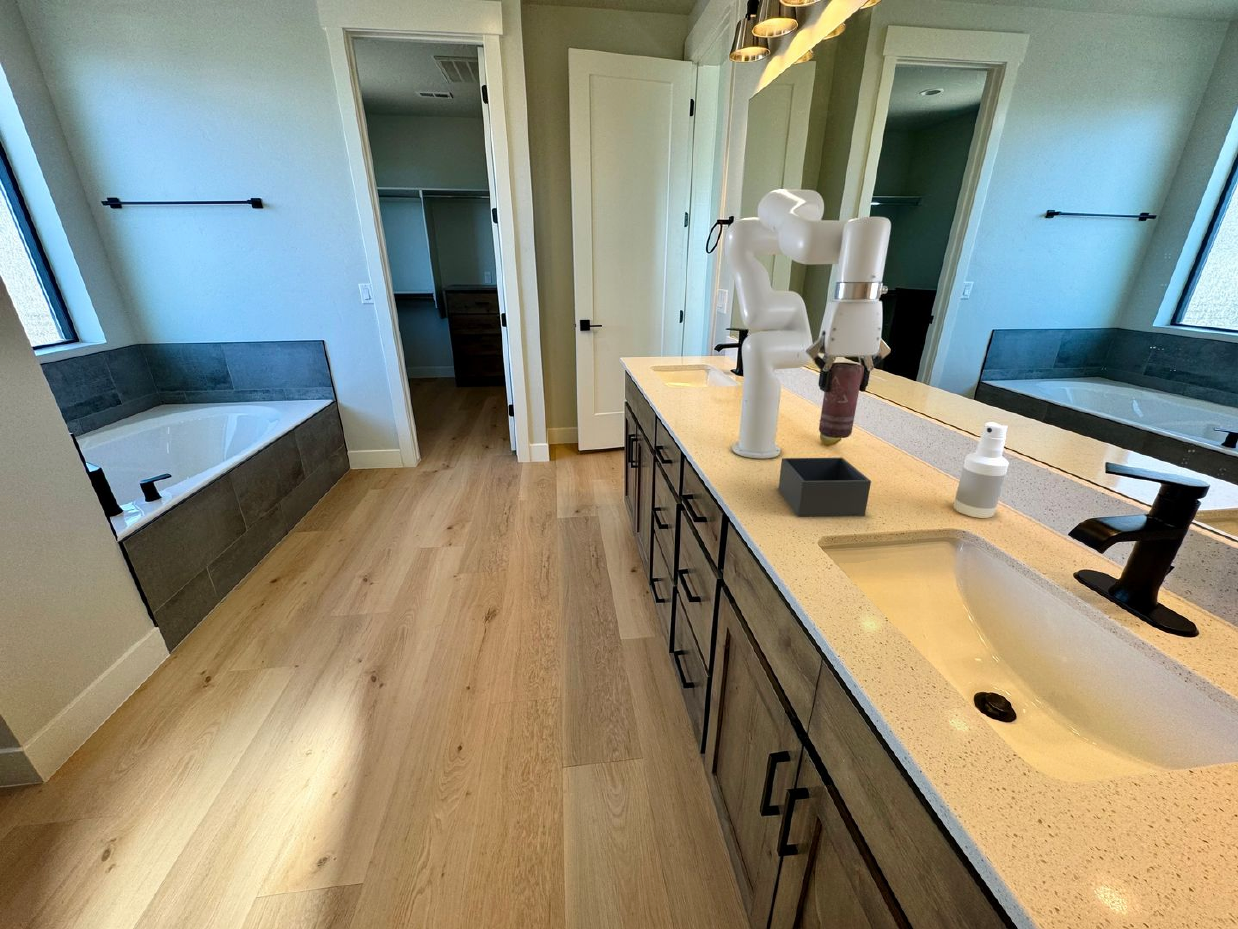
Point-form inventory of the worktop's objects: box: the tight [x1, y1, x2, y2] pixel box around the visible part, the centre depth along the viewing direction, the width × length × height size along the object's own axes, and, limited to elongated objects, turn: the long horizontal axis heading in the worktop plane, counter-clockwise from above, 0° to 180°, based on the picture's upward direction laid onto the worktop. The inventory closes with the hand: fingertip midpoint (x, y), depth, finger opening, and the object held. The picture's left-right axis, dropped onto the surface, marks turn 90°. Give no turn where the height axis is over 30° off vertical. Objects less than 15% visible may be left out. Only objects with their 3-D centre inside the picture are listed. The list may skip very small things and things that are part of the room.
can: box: [818, 361, 864, 439], centre depth 96 cm, size 6×6×14 cm
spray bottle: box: [952, 421, 1010, 519], centre depth 95 cm, size 7×7×18 cm
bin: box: [778, 456, 872, 518], centre depth 102 cm, size 13×13×8 cm
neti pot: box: [818, 419, 843, 446], centre depth 137 cm, size 4×15×6 cm, turn 0°
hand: (842, 389), depth 96 cm, fingers closed on can, 6 cm apart
